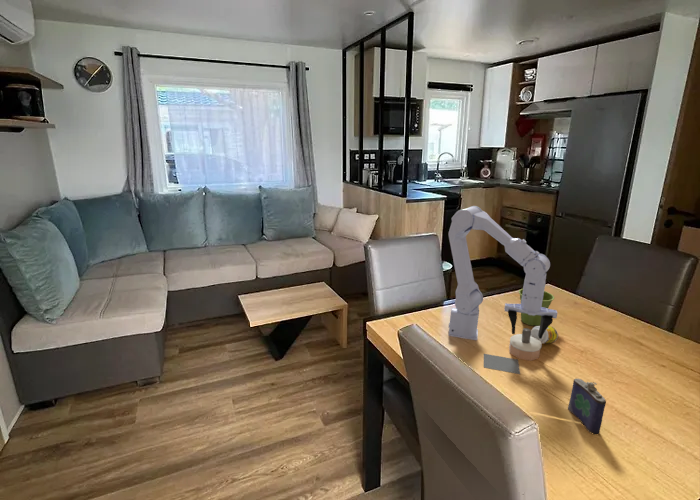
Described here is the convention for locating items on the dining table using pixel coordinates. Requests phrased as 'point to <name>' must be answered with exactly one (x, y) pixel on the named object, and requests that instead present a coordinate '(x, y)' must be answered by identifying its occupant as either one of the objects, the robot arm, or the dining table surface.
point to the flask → (587, 405)
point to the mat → (501, 363)
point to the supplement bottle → (545, 334)
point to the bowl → (523, 353)
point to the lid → (525, 341)
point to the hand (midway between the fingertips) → (526, 334)
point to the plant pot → (537, 318)
